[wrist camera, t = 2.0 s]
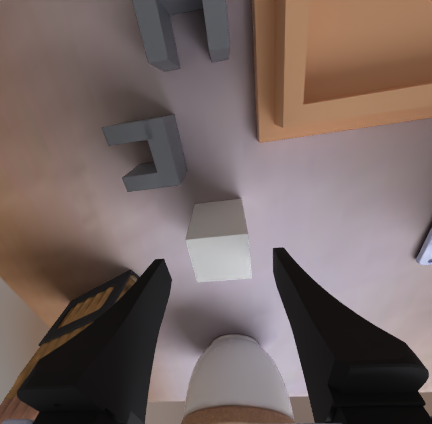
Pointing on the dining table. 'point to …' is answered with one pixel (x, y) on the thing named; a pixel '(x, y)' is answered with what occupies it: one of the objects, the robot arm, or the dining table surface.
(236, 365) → the lidded bowl
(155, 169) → the clip
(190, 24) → the dining table surface
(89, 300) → the ammunition clip
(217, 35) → the clip
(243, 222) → the plain white rectangular block
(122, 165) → the dining table surface
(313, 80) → the wooden tray
